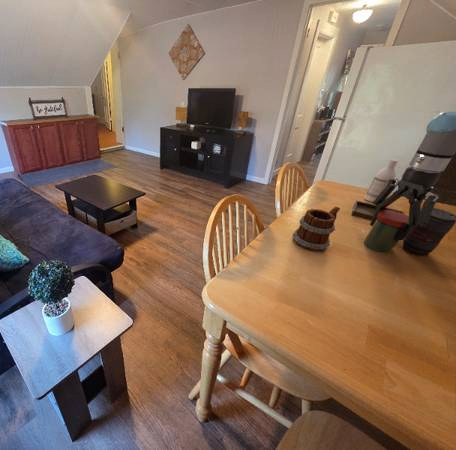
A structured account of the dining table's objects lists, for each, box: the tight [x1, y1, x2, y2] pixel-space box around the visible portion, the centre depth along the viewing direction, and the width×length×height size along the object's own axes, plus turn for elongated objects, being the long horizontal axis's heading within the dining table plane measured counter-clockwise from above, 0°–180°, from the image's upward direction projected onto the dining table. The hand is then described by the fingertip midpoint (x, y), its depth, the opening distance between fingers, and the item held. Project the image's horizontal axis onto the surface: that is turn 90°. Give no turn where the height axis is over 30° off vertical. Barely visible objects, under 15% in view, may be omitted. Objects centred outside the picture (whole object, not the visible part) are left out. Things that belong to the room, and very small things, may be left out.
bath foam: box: [364, 158, 399, 203], centre depth 114 cm, size 7×7×20 cm
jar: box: [363, 218, 401, 254], centre depth 85 cm, size 8×8×12 cm
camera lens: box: [401, 207, 456, 257], centre depth 82 cm, size 8×8×15 cm
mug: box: [292, 206, 341, 252], centre depth 86 cm, size 12×14×15 cm
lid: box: [377, 210, 409, 228], centre depth 82 cm, size 9×9×2 cm
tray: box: [351, 200, 405, 221], centre depth 106 cm, size 17×13×2 cm
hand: (385, 232), depth 84 cm, fingers closed on lid, 8 cm apart
